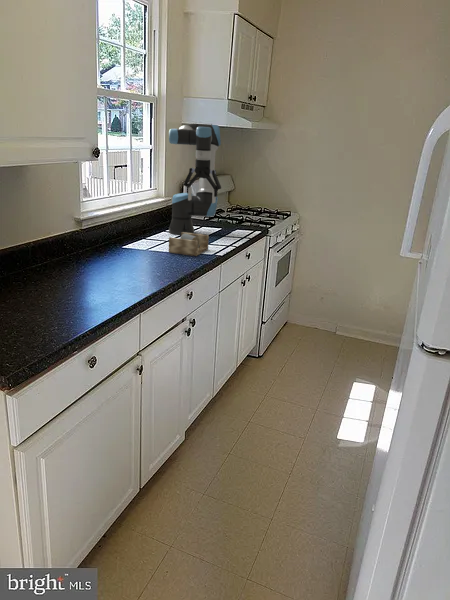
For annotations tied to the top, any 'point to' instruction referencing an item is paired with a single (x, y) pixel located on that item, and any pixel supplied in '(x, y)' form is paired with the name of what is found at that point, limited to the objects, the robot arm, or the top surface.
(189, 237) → the ceramic mug
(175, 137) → the robot arm
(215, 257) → the top surface
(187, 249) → the holder
